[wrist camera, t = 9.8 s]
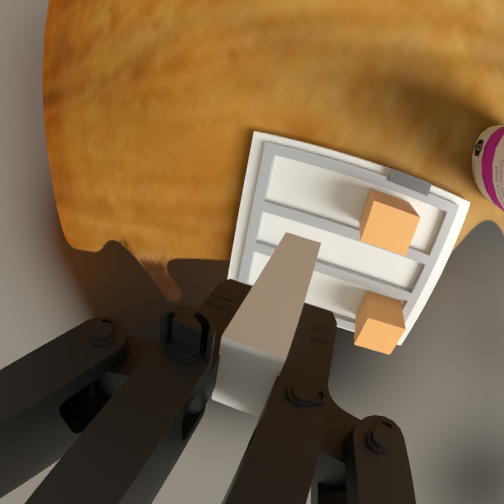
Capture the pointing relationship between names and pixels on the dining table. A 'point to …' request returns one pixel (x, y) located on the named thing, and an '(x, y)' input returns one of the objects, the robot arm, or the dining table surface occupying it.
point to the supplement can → (490, 164)
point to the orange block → (388, 222)
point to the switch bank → (341, 226)
